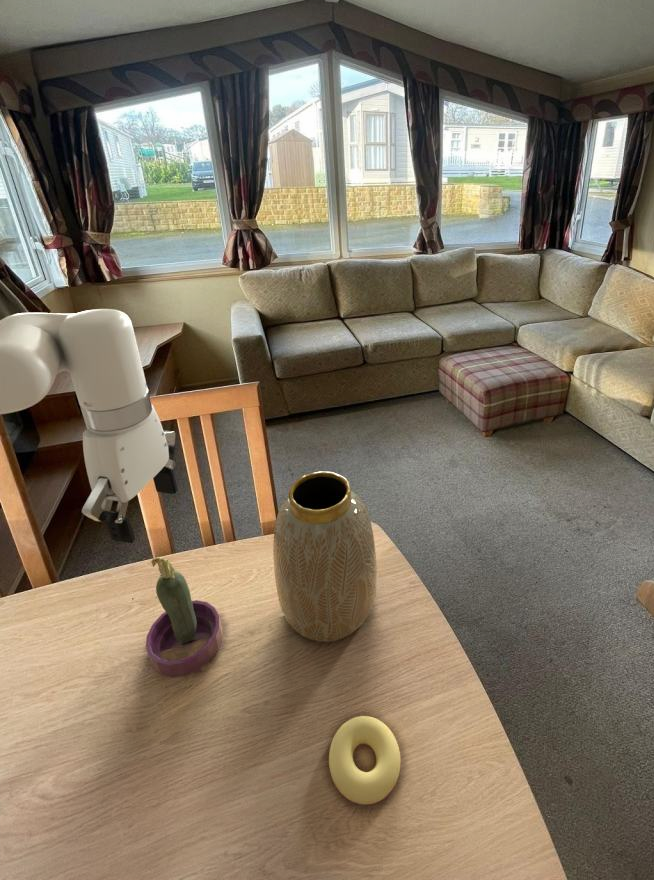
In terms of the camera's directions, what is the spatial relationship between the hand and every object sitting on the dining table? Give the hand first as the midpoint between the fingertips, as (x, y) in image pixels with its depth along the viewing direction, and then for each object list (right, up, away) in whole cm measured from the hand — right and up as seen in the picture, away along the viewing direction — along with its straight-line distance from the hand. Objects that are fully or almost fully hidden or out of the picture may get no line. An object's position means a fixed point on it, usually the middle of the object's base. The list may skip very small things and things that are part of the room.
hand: (146, 514), depth 68 cm
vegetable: (+1, -26, +13) cm, 29 cm away
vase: (+23, -23, +20) cm, 38 cm away
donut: (+31, -33, -2) cm, 45 cm away
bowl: (+1, -26, +13) cm, 29 cm away
